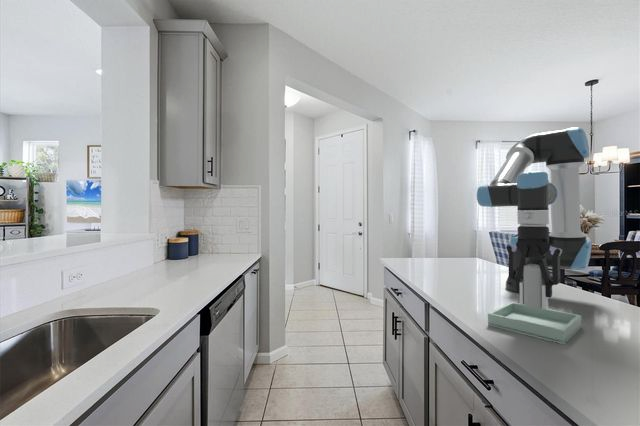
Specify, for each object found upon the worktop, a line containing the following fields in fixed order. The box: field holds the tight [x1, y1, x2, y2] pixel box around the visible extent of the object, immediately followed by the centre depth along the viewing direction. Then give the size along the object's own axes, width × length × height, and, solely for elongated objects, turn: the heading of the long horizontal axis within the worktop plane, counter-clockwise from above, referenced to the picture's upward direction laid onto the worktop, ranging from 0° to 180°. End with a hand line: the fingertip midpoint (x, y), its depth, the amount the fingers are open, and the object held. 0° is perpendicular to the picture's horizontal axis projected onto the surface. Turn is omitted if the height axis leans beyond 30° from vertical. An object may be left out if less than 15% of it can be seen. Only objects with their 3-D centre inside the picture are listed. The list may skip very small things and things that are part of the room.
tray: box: [487, 301, 582, 345], centre depth 90 cm, size 18×18×3 cm
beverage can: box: [523, 264, 544, 309], centre depth 90 cm, size 5×5×12 cm
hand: (533, 305), depth 90 cm, fingers closed on beverage can, 5 cm apart
